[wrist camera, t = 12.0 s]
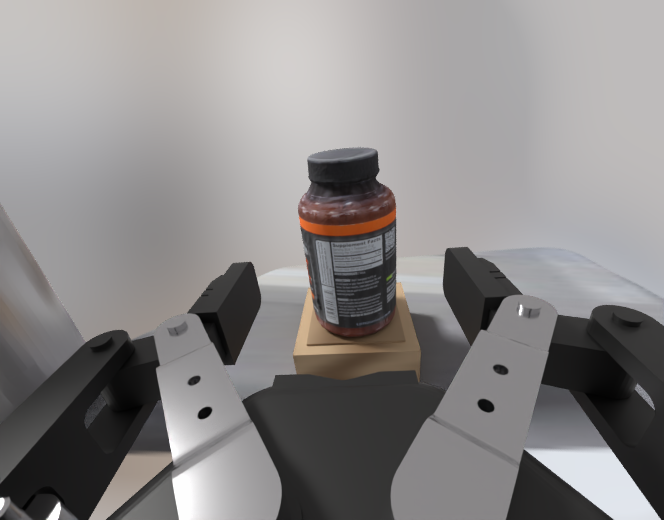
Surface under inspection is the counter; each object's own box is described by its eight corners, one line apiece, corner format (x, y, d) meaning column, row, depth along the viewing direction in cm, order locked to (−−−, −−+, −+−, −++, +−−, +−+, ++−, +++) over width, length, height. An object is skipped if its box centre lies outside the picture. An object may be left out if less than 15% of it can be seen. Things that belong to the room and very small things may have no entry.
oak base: (299, 388, 20) (292, 353, 19) (312, 315, 27) (308, 286, 26) (419, 384, 20) (420, 348, 18) (400, 310, 27) (400, 280, 25)
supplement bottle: (320, 291, 25) (300, 149, 20) (392, 289, 24) (391, 141, 19) (308, 342, 20) (277, 166, 14) (400, 341, 19) (402, 155, 14)
